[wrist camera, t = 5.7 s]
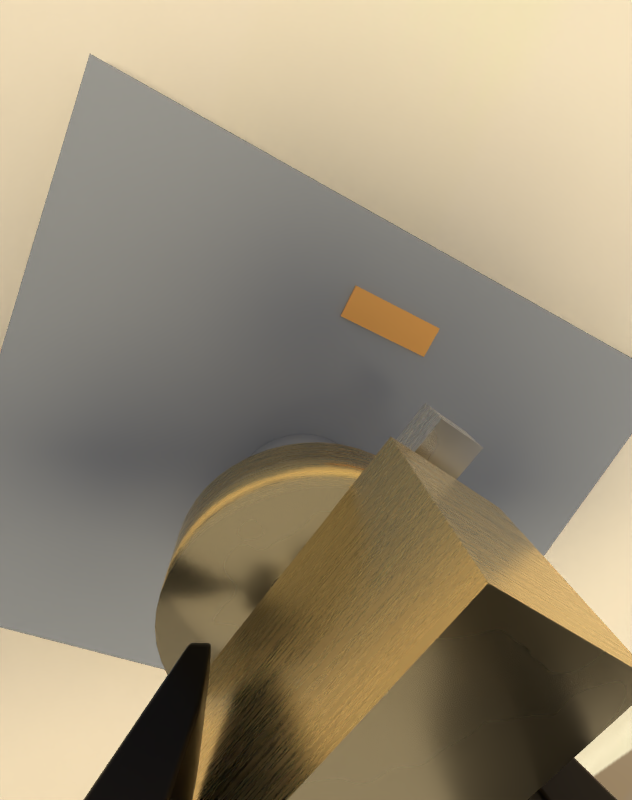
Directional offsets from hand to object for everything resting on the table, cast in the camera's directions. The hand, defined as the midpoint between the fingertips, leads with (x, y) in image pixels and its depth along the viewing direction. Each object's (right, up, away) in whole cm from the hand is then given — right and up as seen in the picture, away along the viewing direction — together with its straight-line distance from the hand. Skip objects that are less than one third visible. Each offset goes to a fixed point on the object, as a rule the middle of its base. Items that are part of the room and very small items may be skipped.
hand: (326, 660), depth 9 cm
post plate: (-1, +2, +8) cm, 8 cm away
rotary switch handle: (0, +1, +3) cm, 3 cm away
